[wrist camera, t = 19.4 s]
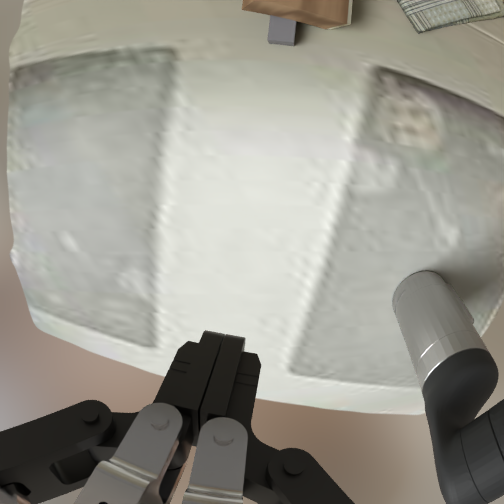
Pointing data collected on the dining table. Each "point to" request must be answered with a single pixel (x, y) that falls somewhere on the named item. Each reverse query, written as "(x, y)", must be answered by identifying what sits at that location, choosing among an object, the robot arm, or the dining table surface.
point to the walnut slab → (305, 11)
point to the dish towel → (449, 12)
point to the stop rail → (281, 31)
